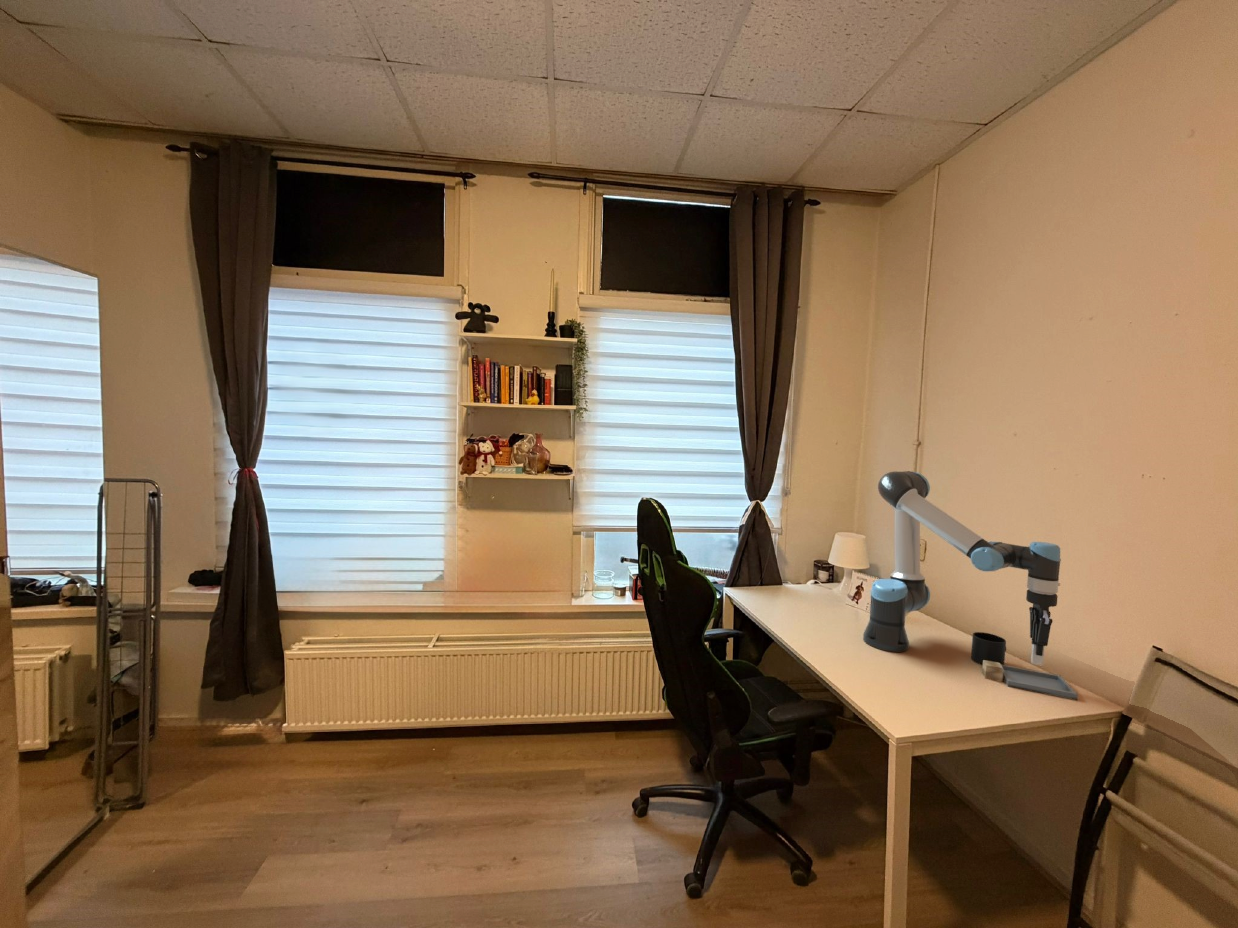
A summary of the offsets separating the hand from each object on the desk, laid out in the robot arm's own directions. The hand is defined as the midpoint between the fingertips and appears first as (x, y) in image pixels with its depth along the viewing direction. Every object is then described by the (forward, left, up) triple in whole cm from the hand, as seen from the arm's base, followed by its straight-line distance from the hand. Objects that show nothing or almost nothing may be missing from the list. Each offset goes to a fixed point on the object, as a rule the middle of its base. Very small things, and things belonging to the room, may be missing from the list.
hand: (1036, 663), depth 161 cm
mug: (-9, +13, -7) cm, 17 cm away
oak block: (-12, -1, -7) cm, 14 cm away
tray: (0, 0, -7) cm, 7 cm away
